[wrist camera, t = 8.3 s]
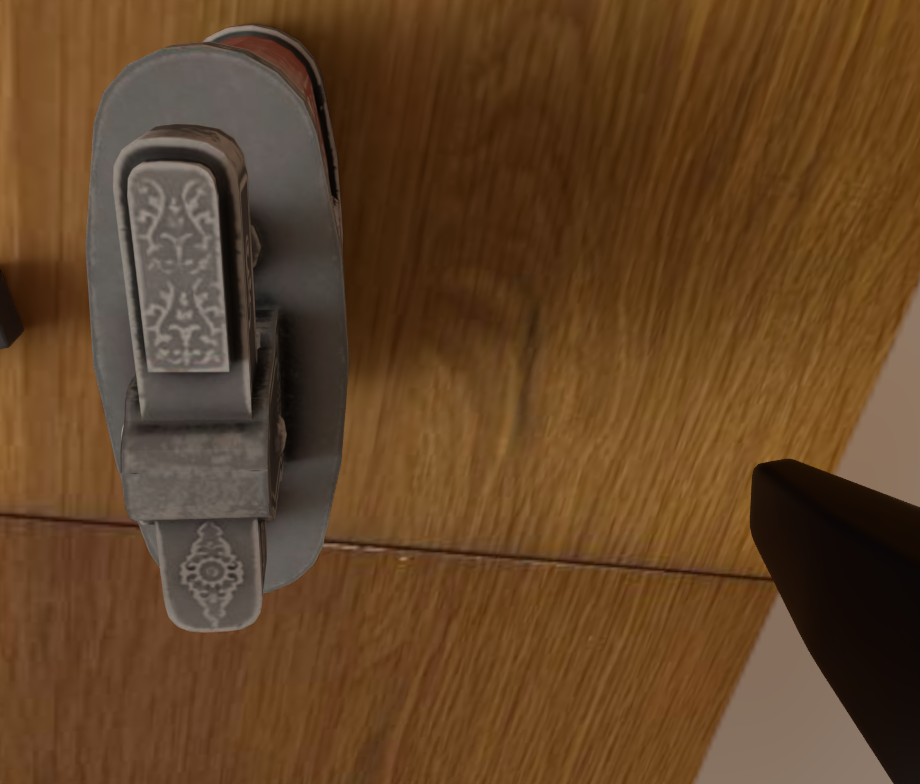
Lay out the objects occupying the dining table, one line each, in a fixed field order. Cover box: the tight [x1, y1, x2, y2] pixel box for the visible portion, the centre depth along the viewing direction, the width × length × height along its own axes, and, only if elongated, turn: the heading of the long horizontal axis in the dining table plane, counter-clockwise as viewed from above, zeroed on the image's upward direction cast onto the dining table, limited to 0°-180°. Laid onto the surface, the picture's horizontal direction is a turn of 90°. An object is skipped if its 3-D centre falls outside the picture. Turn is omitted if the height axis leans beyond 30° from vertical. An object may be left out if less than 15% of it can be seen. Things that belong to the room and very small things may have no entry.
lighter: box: [86, 24, 349, 633], centre depth 13 cm, size 8×3×10 cm, turn 177°
